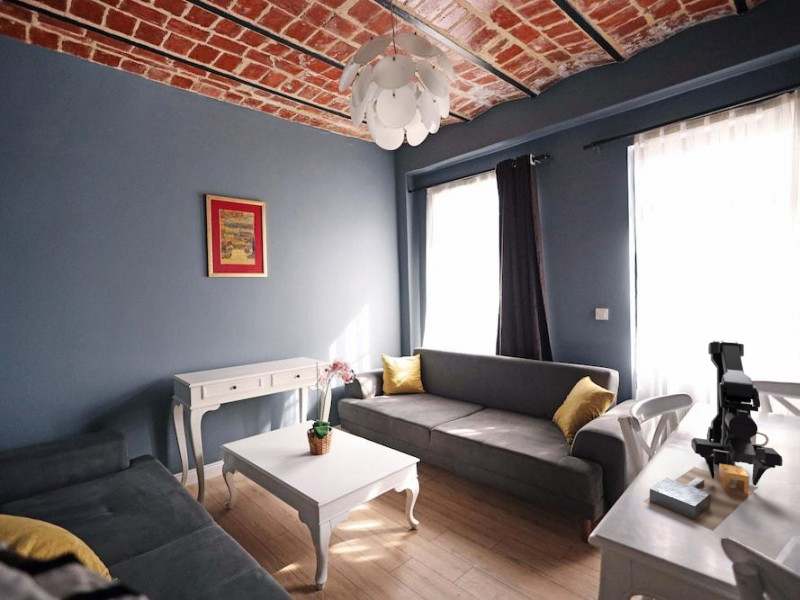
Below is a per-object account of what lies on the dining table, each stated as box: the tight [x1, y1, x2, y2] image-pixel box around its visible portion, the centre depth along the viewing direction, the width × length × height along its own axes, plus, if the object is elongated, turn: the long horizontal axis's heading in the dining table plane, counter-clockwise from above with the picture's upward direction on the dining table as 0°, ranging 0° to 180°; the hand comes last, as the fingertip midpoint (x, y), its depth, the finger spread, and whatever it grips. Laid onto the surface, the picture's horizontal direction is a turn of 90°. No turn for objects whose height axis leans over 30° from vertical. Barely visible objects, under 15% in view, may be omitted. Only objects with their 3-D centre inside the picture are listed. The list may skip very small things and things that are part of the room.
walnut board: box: [643, 466, 759, 531], centre depth 110 cm, size 33×15×1 cm, turn 125°
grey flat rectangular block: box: [649, 477, 711, 520], centre depth 108 cm, size 22×10×4 cm, turn 125°
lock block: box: [718, 463, 750, 494], centre depth 113 cm, size 6×5×5 cm
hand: (733, 481), depth 113 cm, fingers open, 9 cm apart
